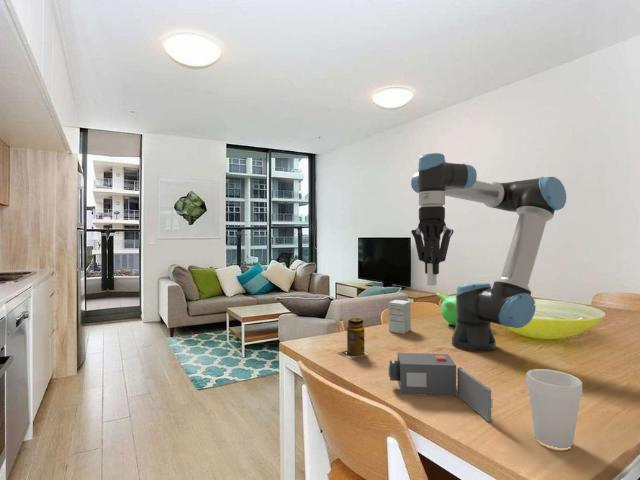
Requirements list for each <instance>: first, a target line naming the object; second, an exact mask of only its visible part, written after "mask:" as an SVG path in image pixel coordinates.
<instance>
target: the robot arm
mask: <svg viewBox="0 0 640 480" xmlns="http://www.w3.org/2000/svg"><path fill="white" fill-rule="evenodd" d="M445 158H446V157H445V155H444V154H443V153H439V152H435V153H434V152H433V153H426V154H423V155H421V156H420V157H419V159H418V168H417V171H418V172H416V173H414V174H413V175H412V177H411V182H410V183H411V184H410V185H411V186H410V187H411V189H412V190H413V191H414V192H415V193H416V194H418V205H419V206H420V207H419V208H418V219H419V222H418V225H417V227H416V228H415V229H412V230H411V234H412V237H413V238H414V243H415V247H416V251H417V257H418V260H419V262H423V263H424V273H425V274H427V275H426V276H427V278H426V280H427V281H426V283H427V284H426V285H427V286H430V287H432V286H433V287H434V286H437V275H439V273H440V264H441V263H442V262H445V261H446V259H447V254H448V249H449V245H450V240H451V237H452V236H453V234H454V233H455V232H454V229H450V228H449V227H447V224H446V222H445V218H446V208H445V205H446V197H450V198H454V199H455V198H456V199H460V200H464V201H465V200H466V201H470V202H471V201H472V202H475V203H480V204H483V205H485V207H489V208H492V209H497V210H501V211H506V212H507V211H508V212H512V213H516V214H517V215H518V220H517V222H516V225H515V228H514V233H513V235H512V237H511V238H512V239H511V242H510V246H509V250H508V252H507V256H506V259H505V262H504V265H503V269H502V271H501V275H500V278H499V279H496V280H495V281H493V285H491V283H488V282H479V283H464V284H458V286H457V288H456V294H455V295H456V303H457V325H456V326H454V327H455V328H454V331H453V333H452V337H451V344H452V346H453V347H455V348H458V349H460V350H464V351H468V352H469V351H470V352H478V353H479V352H481V353H483V352H484V353H485V352H492V351H495V350H496V349H497V341H496V337H495V334H494V332H493V329H492V324H496V325H500V326H503V327H505V328H512V329H513V328H514V329H521V328H524V327H526V326H527V325H528V324H529V323H530V322H531V321H532V319H533V317H534V316H535V313H536V305H535V304H536V301H535V298H534V297H533V296H532V291H531V289H530V288H529V283H530V281H531V280H530V279H531V276H532V274H533V269H534V266H535V263H536V259H537V255H538V252H539V248H540V245H541V241H542V239H543V234H544V231H545V228H546V225H547V222H549V221H551V220H552V219H553V217H554V214H555V211H559V210H563V208H564V207H565V205H566V203H567V191H566V188H565V186H564V184H563V181H561V180H560V179H559V178H558V177H556V176H555V177H554V176H546V177H545V176H541V177H537V178H531V179H523V180H515V181H508V182H498V181H491V182H485V181H480V180H477V176H478V175H477V174H478V173H477V170H476V168H475V167H474V166H472V164H471V165H470V164H466V163H453V162H447V161H446V159H445ZM441 235H442V236H441ZM441 237H442V238H441ZM440 241H441V242H440ZM491 323H492V324H491Z"/></svg>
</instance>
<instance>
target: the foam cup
mask: <svg viewBox="0 0 640 480" xmlns="http://www.w3.org/2000/svg"><path fill="white" fill-rule="evenodd" d="M525 374H526V375H525V377H526V378H525V384H526V388H527V391H528V398H529V405H530V407H529V408H530V413H531V420H532V428H533V435H534V438H535V437H536V439H537V440H539V441H540V442H542V443H544V444H546V445H549V446H553V447H557V448H568V447H571V446H572V447H573V444H574V439H575V435H576V434H575V433H576V426H577V421H578V414H579V410H580V402H581V397H582V396H583V382H582V381H581V380H580V378H579V377H576V376H574V375H572V374H570V373H567V372H563V371H560V370H554V369H547V368H546V369H545V368H543V369H542V368H541V369H540V368H536V369H529V370H528V371H527V372H526V373H525ZM536 439H535V440H536Z"/></svg>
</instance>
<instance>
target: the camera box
mask: <svg viewBox="0 0 640 480" xmlns="http://www.w3.org/2000/svg"><path fill="white" fill-rule="evenodd" d="M396 354H397V355H396V356H397V360H389V364H388V377H389V380H390V382H391V381H392V382H394V381H395V382H397V383H398V387H399V392H400V395H409V396H411V395H413V396H433V397H434V396H436V397H437V396H438V397H440V396H441V397H457V364H456V363H455V361H454V360H453V359H452V357H451V356H450V355H449V354H448V353H420V352H419V353H415V352H412V353H411V352H397V353H396Z"/></svg>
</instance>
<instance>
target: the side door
mask: <svg viewBox="0 0 640 480" xmlns="http://www.w3.org/2000/svg"><path fill="white" fill-rule="evenodd" d="M457 396H458V397H460V398H461V399H462V400H463V401H464V402H465V403H466V404H468V405H469V406H470V407H471V408H472V409H473V410H474V411H475V410H476V411H475V412H476V413H478V414H479V415H480V416H481V417H482V418H483V417H484V418H485V419H484V418H483V419H484V420H486V422H492V409H493V408H494V407H493V402H494V401H493V398H492V389H491V388H489V387H488V386H487V385H485V384H484V383H482V382H481V381H480V380H479V379H477V378H476V377H474V376H473V375H471V374H470V373H468V371H466V370H465V369H463V368H462V367H457Z"/></svg>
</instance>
